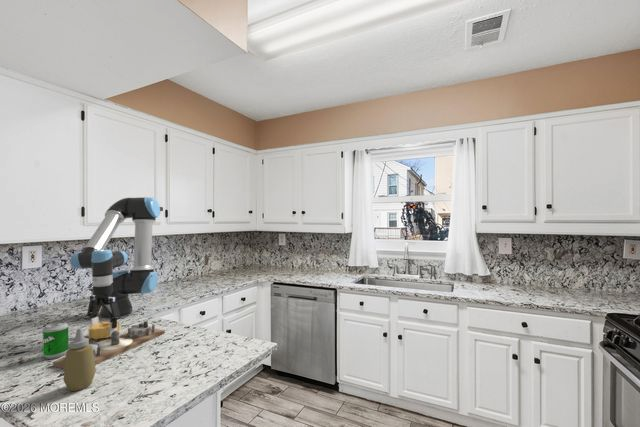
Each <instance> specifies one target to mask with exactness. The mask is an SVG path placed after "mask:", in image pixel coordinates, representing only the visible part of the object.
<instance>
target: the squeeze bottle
mask: <svg viewBox="0 0 640 427" xmlns="http://www.w3.org/2000/svg"><path fill="white" fill-rule="evenodd" d="M89 340H90V339H89V337H85V335H84V332H83V328H77V329H76V333H75V337H74V340H72V341H70V342H69V350H68V351H67V352H66V354H65V357H66V361H65V369H64V371H63V382H64V384H65V386H66V388H67V390H68V391H70V392H77V391H81V390H83V389H87V388H88V387H89V386H91V385H92V384H93V381H94V377H95V375H96V371H97V370H96V365H95V362H94V355H93V348H92V345H89V344H90V342H89Z"/></svg>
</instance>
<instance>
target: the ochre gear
mask: <svg viewBox="0 0 640 427" xmlns="http://www.w3.org/2000/svg"><path fill="white" fill-rule="evenodd" d="M87 331H88V339H89V340H90V339H94V340H99V339H107V338H111V336H110V331H109V321H101V322H100V321H99V323H98V324H96V325H92V326H91V325H90V326H89V328H88V330H87ZM117 331H118V332H119V331H120V322H119V321H117Z"/></svg>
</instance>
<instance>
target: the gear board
mask: <svg viewBox="0 0 640 427" xmlns="http://www.w3.org/2000/svg"><path fill="white" fill-rule="evenodd" d="M164 333H165V334H166V330H164V329H160V328H159V329H158V328H156V325H155V323H154V324H153V322H149V321H148V320H145V321H143V322H141V323H139V324H133V325H131V327H128V328H127V332H126V333H123V334H120V332H119V331H113V332H112V334H111V336H110V339H108V340H105V341H103V342H101V343H94V344H93V343H92V344H91V343H89V345H92V348H93V355H94V362H95V366H96V365H98V364H101V363H103V362H105V361H107V360H110V359H112V358H114V357H117V356H118V355H120V354H123V353H125V352H127V351H129V350H132V349H133V348H136V347H138V346H140V345H143V344H145V343H146V342H149V341H152V340H154V339H156V338H158V337H161V336H162V334H163V335H165V334H164ZM160 335H161V336H160ZM65 361H66V356H64V357H62V358H60V359H57V360H54V361H53V362H52V365H53V367H56V368H59V369H64V370H65Z"/></svg>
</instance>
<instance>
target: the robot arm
mask: <svg viewBox="0 0 640 427" xmlns="http://www.w3.org/2000/svg"><path fill="white" fill-rule="evenodd" d="M160 207H161V206H160V204H159V201H157V199H156V198H154V197H146V196H144V197H125V198H121V199H119V200H118V201H115V203H113V204H111V205H110V206H109V208H108V209H107V210H106V211H105V213H104V218H103V220H102V221H101V223H100V224H99V226H98V227H97V229H96V230H95V231H94V233H93V235H92V236H91V237H90V239H89V240H88V242H87V243H86V244H85V246H84V248H83V249H82V251H81V252H80V251H79V252H75V253H73V254H71V256H70V258H69V259H70V262H69V263H70V266H71V267H72V268H73V269H79V270H80V269H81V270H83V269H84V270H85V269H91V273H92V274H91V276H92V280H91V282H92V286H91V288H92V295H91V296H90V295H89V303H88V309H87V312H86V313H87V314H86V316H87V317H89V318H90V326H92V325H96V324H98V323H100V320H99V317H101V318H109V320H108V322H109V331H110V337H111V334H112V332H113V331H117V322H118V320H120V319H122V316H125V315H128V314H130V313H132V312H133V306H132V302H131V300H130V298H129V297H130V296H129V295H135V294H136V295H137V294H142V295H143V294H144V295H145V294H150V293H152V292H154V290H156V287H157V285H158V281H159V275H158V274H159V273H158V272H156V271H155V268H154V266H152V256H153V255H152V254H153V251H152V249H153V242H152V241H153V224H154V223H155V222H156V220H157V219H156V218H159V217H160V214H161V209H160ZM127 219H132V220H131V221H132V222H133V223H134V249H133V266H132V268H131V269H129V270H130V272H129V270H128V269H124V270H123V269H122V270H117V271H113V269H116V268H119V267H121V266H124V265H125V264H127V261H128V259H129V256H128V254H127V252H126V251H122V250H114V251H112V250H111V249H105V248H106V247H107V245H108V243H109V242H110V240H111V238H112V237H113V236H114V233H116V230H117V229H118V227H119V226H120V224H122V223H123V222H124V221H125V220H127Z"/></svg>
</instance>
